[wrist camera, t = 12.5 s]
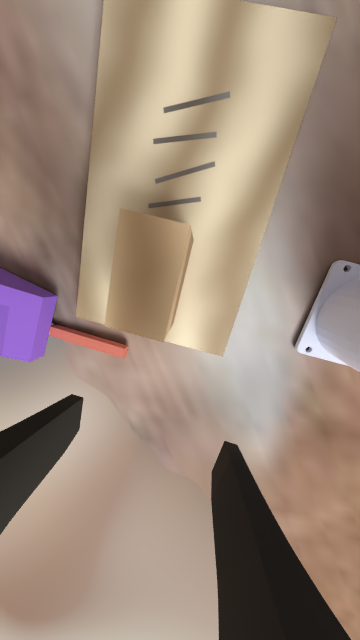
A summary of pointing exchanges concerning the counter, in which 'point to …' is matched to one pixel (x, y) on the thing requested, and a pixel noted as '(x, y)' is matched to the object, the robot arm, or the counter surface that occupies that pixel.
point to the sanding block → (147, 274)
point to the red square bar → (89, 340)
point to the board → (196, 141)
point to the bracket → (24, 317)
